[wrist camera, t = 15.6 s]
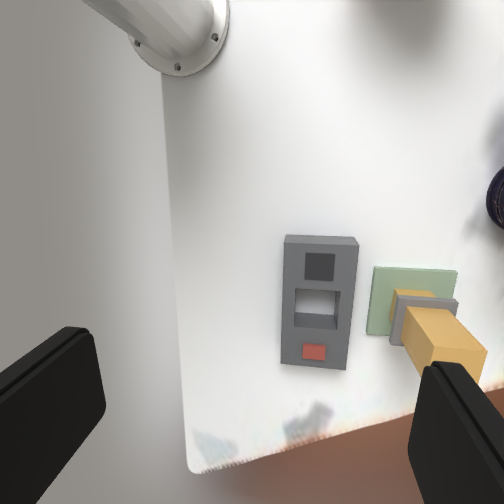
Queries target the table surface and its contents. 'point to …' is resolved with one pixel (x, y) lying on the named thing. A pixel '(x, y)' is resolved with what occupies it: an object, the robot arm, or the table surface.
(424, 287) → the mat
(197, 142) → the table surface
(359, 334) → the table surface
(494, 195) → the storage jar
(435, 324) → the plug
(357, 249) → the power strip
